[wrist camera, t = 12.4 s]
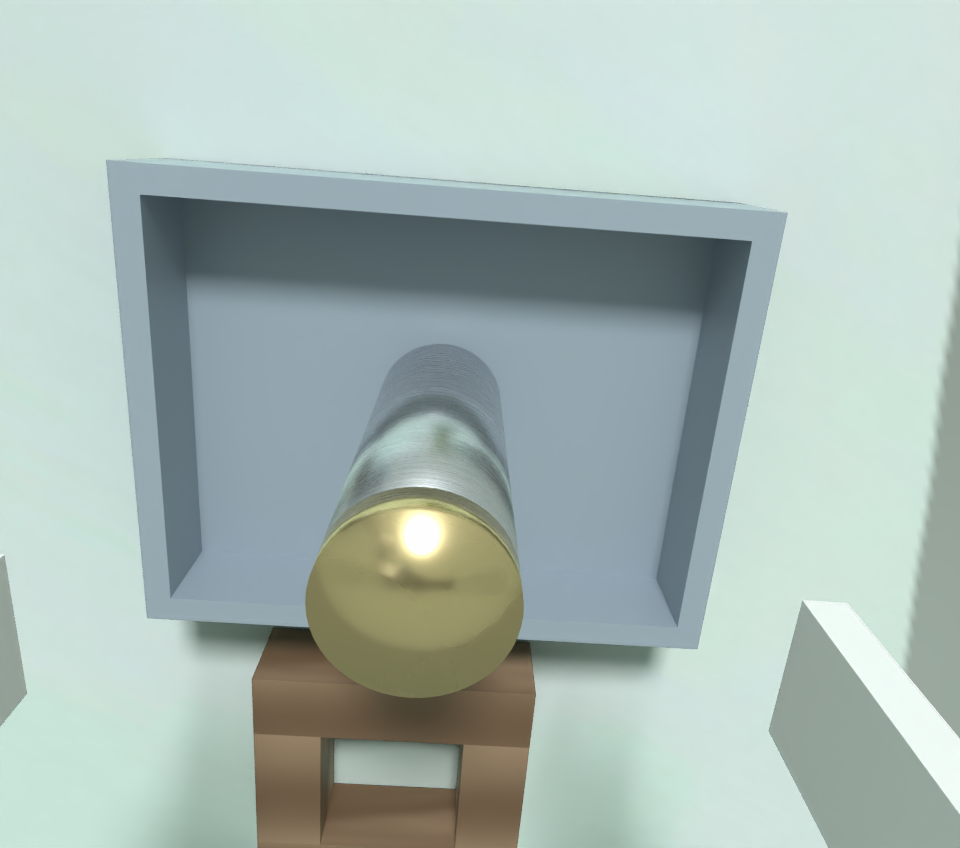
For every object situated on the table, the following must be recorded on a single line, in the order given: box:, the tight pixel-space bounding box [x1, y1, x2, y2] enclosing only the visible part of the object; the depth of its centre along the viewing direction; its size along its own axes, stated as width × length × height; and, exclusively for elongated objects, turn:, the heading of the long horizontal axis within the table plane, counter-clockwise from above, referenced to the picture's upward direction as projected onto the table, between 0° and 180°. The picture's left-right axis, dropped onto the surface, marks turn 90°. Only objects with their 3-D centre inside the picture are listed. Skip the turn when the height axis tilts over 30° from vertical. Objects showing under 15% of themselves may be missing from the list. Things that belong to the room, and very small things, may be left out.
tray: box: [106, 158, 787, 649], centre depth 24 cm, size 14×18×4 cm
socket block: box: [252, 628, 536, 848], centre depth 30 cm, size 10×10×3 cm
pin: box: [305, 344, 524, 698], centre depth 19 cm, size 4×4×12 cm
